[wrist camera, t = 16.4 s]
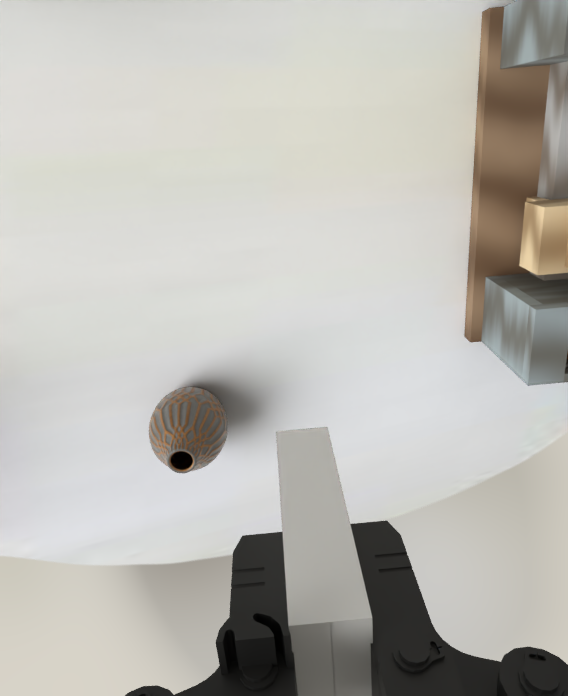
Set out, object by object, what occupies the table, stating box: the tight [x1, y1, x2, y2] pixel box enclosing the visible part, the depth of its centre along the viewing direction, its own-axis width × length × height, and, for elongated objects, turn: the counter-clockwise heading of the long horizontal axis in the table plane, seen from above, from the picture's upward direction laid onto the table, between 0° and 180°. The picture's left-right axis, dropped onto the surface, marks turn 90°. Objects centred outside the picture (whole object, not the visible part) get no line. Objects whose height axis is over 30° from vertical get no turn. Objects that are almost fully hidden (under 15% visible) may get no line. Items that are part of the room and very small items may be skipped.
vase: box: [149, 387, 228, 473], centre depth 47 cm, size 7×7×9 cm
